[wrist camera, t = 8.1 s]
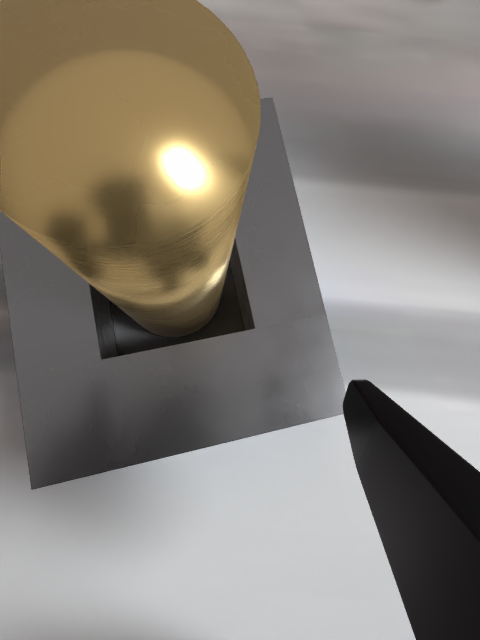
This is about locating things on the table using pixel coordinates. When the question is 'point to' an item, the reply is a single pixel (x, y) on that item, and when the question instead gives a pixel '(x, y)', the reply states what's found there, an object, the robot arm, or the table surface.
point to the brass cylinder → (129, 147)
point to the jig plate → (173, 347)
